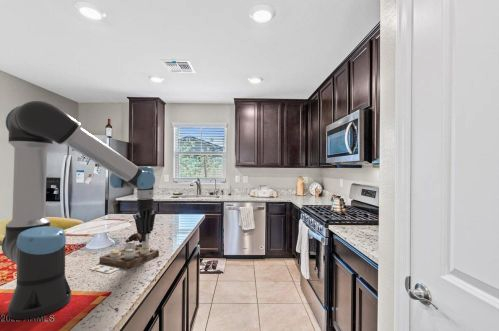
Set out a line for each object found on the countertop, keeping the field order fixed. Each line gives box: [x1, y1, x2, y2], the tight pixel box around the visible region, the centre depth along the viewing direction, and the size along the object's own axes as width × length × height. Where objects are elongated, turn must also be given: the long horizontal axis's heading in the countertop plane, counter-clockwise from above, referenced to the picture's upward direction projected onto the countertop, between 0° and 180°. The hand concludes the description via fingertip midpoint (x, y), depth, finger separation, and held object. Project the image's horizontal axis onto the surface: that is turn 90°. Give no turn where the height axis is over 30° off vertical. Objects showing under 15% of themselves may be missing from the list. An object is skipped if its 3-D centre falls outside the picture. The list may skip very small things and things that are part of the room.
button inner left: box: [109, 250, 121, 258], centre depth 117 cm, size 4×4×4 cm
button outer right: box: [140, 246, 151, 255], centre depth 122 cm, size 4×4×4 cm
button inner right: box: [124, 249, 135, 260], centre depth 114 cm, size 4×4×4 cm
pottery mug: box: [125, 232, 142, 244], centre depth 140 cm, size 12×10×8 cm
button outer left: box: [125, 241, 137, 250], centre depth 125 cm, size 4×4×4 cm
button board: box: [99, 246, 160, 269], centre depth 119 cm, size 18×18×2 cm
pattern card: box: [88, 264, 120, 275], centre depth 107 cm, size 5×12×1 cm, turn 67°
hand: (145, 247), depth 122 cm, fingers closed
